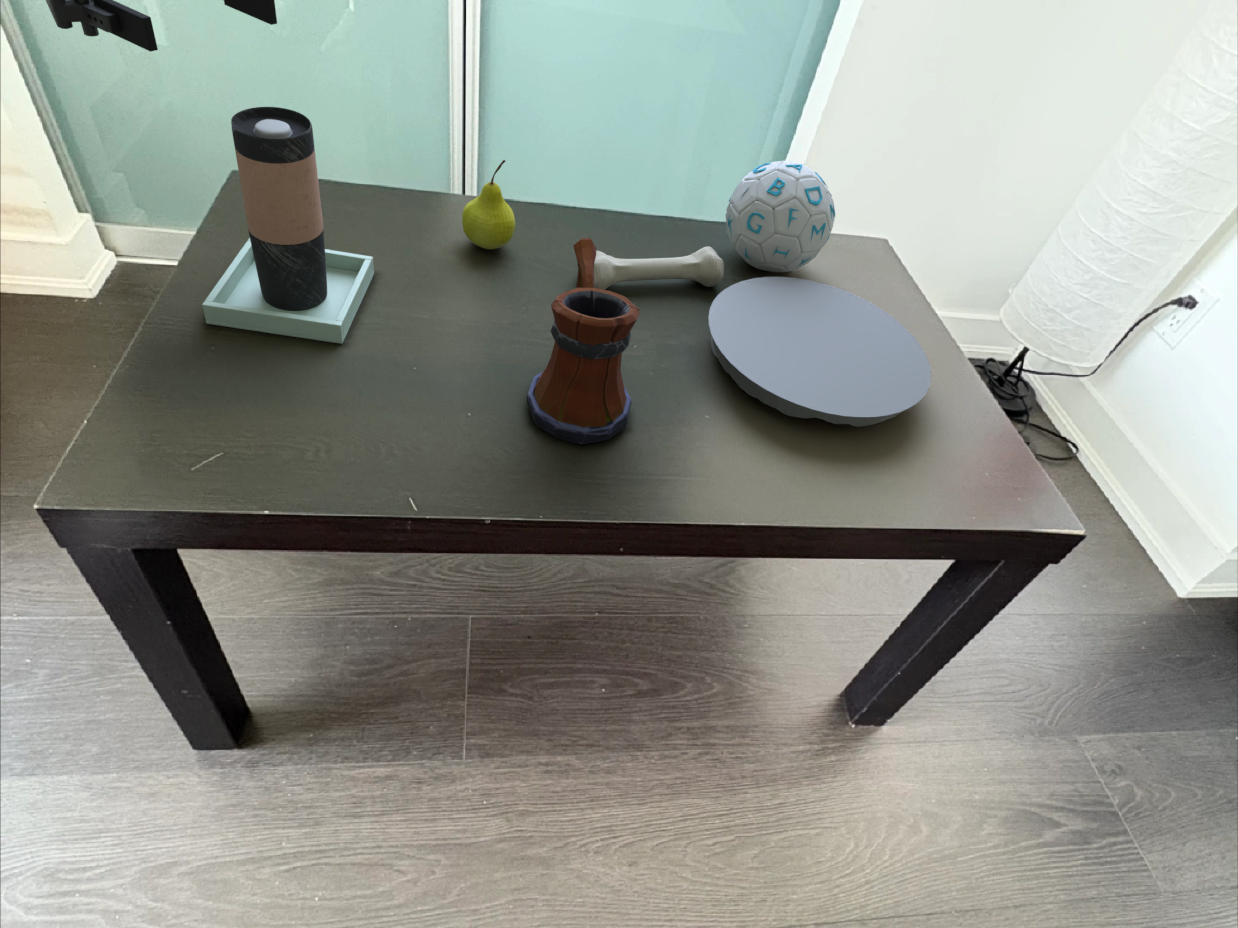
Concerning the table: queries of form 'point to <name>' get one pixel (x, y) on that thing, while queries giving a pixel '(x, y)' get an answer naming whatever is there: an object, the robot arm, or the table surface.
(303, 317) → the tray
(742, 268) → the table surface
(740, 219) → the puzzle ball
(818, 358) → the flat disc
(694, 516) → the table surface
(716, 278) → the dog toy
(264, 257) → the travel mug
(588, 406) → the mug
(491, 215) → the fruit
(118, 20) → the robot arm
